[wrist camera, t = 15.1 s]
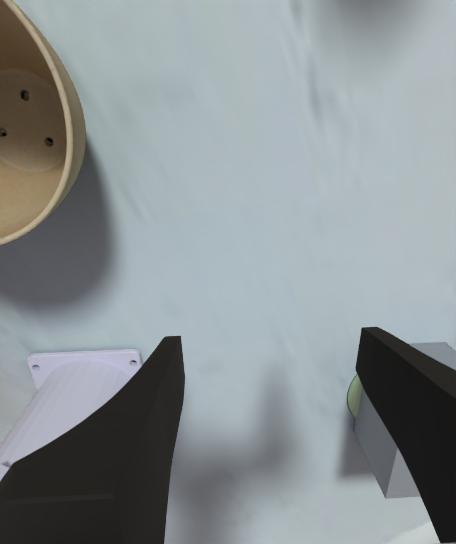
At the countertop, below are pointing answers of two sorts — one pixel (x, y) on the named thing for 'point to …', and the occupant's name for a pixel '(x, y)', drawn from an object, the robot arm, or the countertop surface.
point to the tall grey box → (380, 443)
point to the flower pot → (34, 126)
